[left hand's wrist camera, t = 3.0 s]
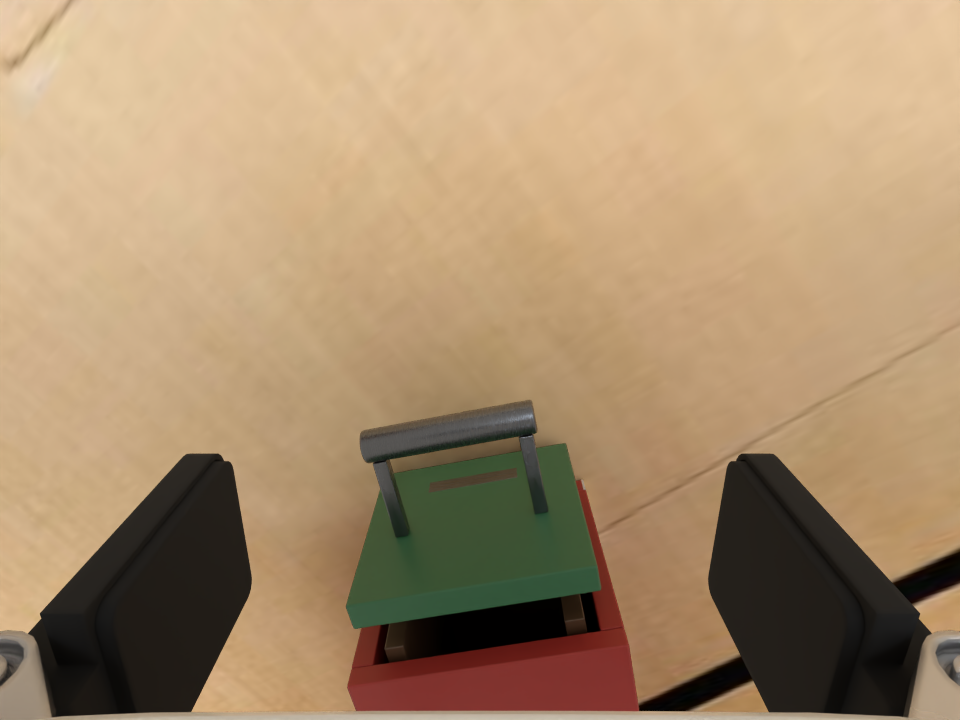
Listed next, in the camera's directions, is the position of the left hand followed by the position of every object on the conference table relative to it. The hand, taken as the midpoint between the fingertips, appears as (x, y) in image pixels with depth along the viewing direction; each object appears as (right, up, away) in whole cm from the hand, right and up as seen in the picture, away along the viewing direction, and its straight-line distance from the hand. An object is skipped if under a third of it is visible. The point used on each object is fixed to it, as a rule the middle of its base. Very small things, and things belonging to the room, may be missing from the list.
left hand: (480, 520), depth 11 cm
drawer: (+1, -8, +22) cm, 24 cm away
